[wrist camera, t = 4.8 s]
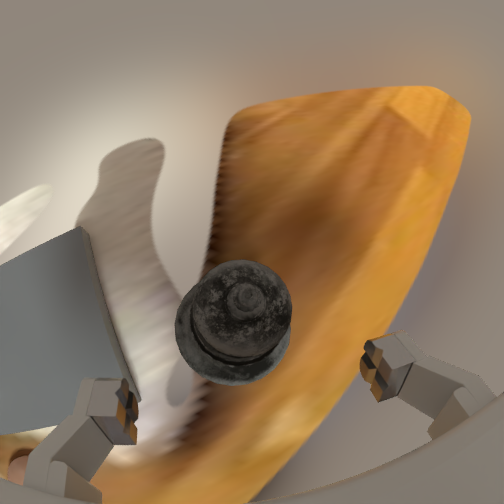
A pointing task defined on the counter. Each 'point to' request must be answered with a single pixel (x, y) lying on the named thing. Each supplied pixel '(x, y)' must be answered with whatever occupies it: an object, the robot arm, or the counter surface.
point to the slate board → (53, 333)
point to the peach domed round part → (17, 470)
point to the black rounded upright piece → (235, 323)
